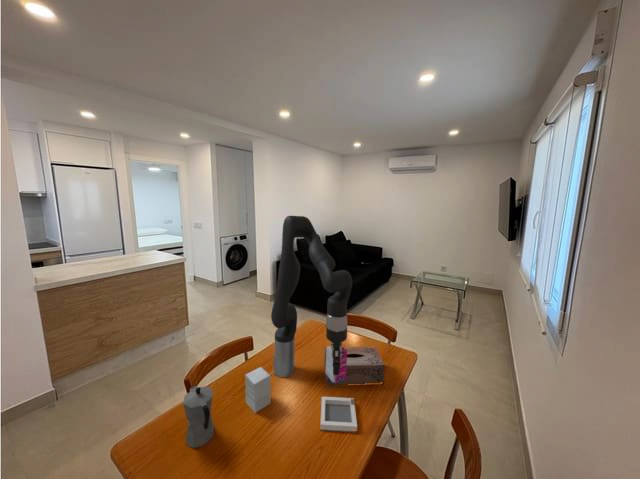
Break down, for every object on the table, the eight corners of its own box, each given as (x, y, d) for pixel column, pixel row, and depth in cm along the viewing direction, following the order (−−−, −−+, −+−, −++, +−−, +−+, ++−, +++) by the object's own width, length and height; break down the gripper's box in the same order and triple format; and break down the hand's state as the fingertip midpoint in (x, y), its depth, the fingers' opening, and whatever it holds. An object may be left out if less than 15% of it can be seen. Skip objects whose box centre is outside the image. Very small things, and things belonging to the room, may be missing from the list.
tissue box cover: (326, 386, 111) (327, 366, 110) (324, 365, 126) (324, 347, 124) (383, 385, 113) (385, 365, 112) (374, 364, 127) (375, 346, 126)
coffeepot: (179, 430, 88) (177, 384, 85) (207, 415, 94) (205, 372, 92) (193, 464, 77) (191, 412, 74) (224, 444, 83) (222, 396, 81)
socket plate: (320, 430, 90) (320, 423, 89) (321, 401, 102) (321, 395, 102) (356, 432, 89) (357, 425, 89) (353, 403, 102) (353, 397, 101)
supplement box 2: (333, 384, 89) (333, 354, 88) (325, 374, 94) (325, 346, 93) (346, 379, 92) (347, 350, 90) (338, 370, 97) (339, 342, 95)
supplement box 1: (261, 393, 106) (261, 366, 104) (271, 403, 101) (271, 375, 99) (245, 402, 101) (244, 374, 99) (254, 414, 96) (254, 384, 94)
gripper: (327, 316, 98) (326, 355, 100) (325, 335, 83) (325, 380, 86) (346, 317, 97) (345, 356, 99) (348, 335, 83) (347, 381, 85)
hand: (336, 367), depth 92 cm, fingers closed on supplement box 2, 7 cm apart
